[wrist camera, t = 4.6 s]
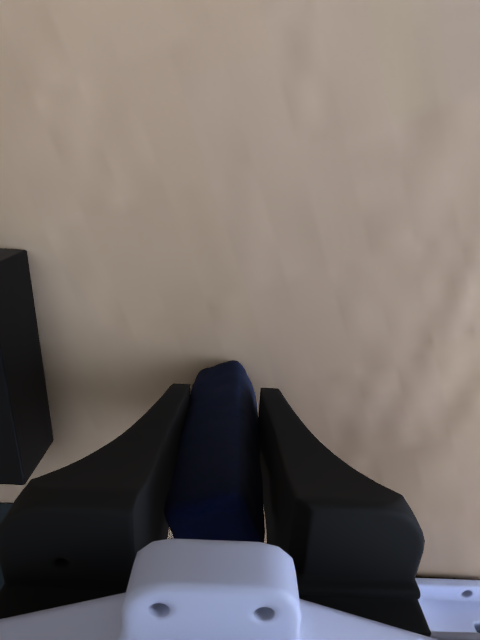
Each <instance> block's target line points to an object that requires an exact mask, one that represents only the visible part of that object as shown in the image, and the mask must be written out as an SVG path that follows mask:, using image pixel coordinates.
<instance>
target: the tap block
mask: <svg viewBox="0 0 480 640" xmlns="http://www.w3.org/2000/svg"><path fill="white" fill-rule="evenodd" d="M52 442H53V434H52V427H51V420H50V413H49V406H48V399H47V392H46V385H45V378H44V370H43V363H42V356H41V349H40V342H39V335H38V328H37V321H36V314H35V307H34V300H33V293H32V286H31V279H30V272H29V264H28V257H27V251H26V250H19V249H1V248H0V484H15V485H24V484H26V482H27V480H28V479H29V477H30V476H31V474H32V473H33V471H34V470H35V468H36V467H37V465H38V463H39V462H40V460H41V459H42V457H43V456H44V454H45V453H46V451H47V450H48V448H49V446H50V445H51V443H52Z"/></svg>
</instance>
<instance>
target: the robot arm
mask: <svg viewBox="0 0 480 640" xmlns="http://www.w3.org/2000/svg"><path fill="white" fill-rule="evenodd" d="M189 402H190V384H172V385H171V386H170V387H169V388H168V389H167V391H166V392H165V393H164V394H163V395H162V397H161V398H160V399H159V400H158V401H157V402H156V403H155V404H154V405H153V406H152V407H151V408H150V409H149V410H148V411H147V413H146V414H145V415H143V416H142V417H141V418H140V419H139V420H138V421H137V422H136V423H135V424H134V425H132V426H131V427H130V428H129V429H128V430H127V431H125V432H124V433H123V434H122V435H120V436H119V437H117V438H116V439H115V440H113V441H112V442H110V443H109V444H107V445H105V446H104V447H102V448H100V449H99V450H97V451H95V452H94V453H92V454H90V455H88V456H86V457H85V458H83V459H81V460H79V461H77V462H74V463H72V464H70V465H68V466H66V467H63V468H61V469H59V470H56V471H53V472H51V473H48V474H46V475H43V476H40V477H38V478H35V479H32V480H31V481H30V482H29V483H28V485H27V486H26V487H25V488H24V489H23V491H22V492H21V493H20V495H19V496H18V497H17V499H16V500H15V502H14V503H13V505H12V506H11V508H10V509H9V511H8V512H7V514H6V516H5V517H4V519H3V520H2V522H1V523H0V566H1V570H2V575H3V579H4V585H3V587H2V589H1V590H0V640H480V580H462V579H436V578H415V576H416V573H417V570H418V567H419V563H420V560H421V557H422V554H423V550H424V542H425V540H424V536H423V532H422V530H421V528H420V525H419V523H418V521H417V519H416V517H415V515H414V514H413V512H412V510H411V508H410V507H409V505H408V504H407V502H406V501H405V499H404V497H403V496H402V495H401V494H398V493H396V492H394V491H392V490H390V489H388V488H386V487H384V486H382V485H380V484H378V483H376V482H374V481H373V480H371V479H369V478H368V477H366V476H364V475H363V474H361V473H359V472H358V471H356V470H355V469H353V468H352V467H350V466H349V465H348V464H346V463H345V462H344V461H342V460H341V459H340V458H338V457H337V456H336V455H334V454H333V453H332V452H331V451H330V450H329V449H327V448H326V447H325V446H324V445H323V444H322V443H321V442H320V441H319V440H318V439H317V438H316V437H315V436H314V435H313V434H312V433H311V432H310V431H309V430H308V429H307V427H306V426H305V425H304V424H303V423H302V421H301V420H300V419H299V417H298V416H297V415H296V414H295V412H294V411H293V410H292V408H291V407H290V405H289V404H288V402H287V401H286V399H285V398H284V396H283V395H282V393H281V391H280V390H279V389H274V388H261V392H260V404H259V415H258V424H259V440H260V447H259V449H260V467H261V473H262V481H263V504H264V511H265V519H266V530H267V544H266V543H262V542H249V541H224V540H200V539H175V538H172V539H167V537H168V530H169V525H168V524H167V522H166V518H165V514H164V507H165V502H166V498H167V494H168V491H169V489H170V487H171V483H172V478H173V472H174V468H175V464H176V461H177V457H178V453H179V444H180V437H181V434H182V431H183V429H184V424H185V420H186V416H187V413H188V411H189Z"/></svg>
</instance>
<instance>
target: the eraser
mask: <svg viewBox="0 0 480 640" xmlns="http://www.w3.org/2000/svg"><path fill="white" fill-rule="evenodd" d="M259 447H260V440H259V424H258V412H257V403H256V396H255V392H254V389H253V386H252V383H251V381H250V379H249V378H248V376H247V374H246V371H245V369H244V368H243V366H242V365H241V364H240V363H239V362H237V361H229V362H226V363H221V364H218V365H216V366H214V367H211V368H206V369H203V370H201V371H200V372H199V373H198V375H197V377H196V380H195V382H194V384H193V386H192V389H191V394H190V402H189V411H188V413H187V416H186V420H185V424H184V429H183V431H182V434H181V437H180V444H179V453H178V457H177V461H176V464H175V468H174V472H173V478H172V483H171V487H170V489H169V491H168V494H167V498H166V502H165V507H164V514H165V518H166V522H167V524H168V525H169V527H170V529H171V531H172V534H173V537H174V538H175V539H200V540H224V541H249V542H262V543H264V535H265V527H264V512H263V481H262V473H261V467H260V449H259Z"/></svg>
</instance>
